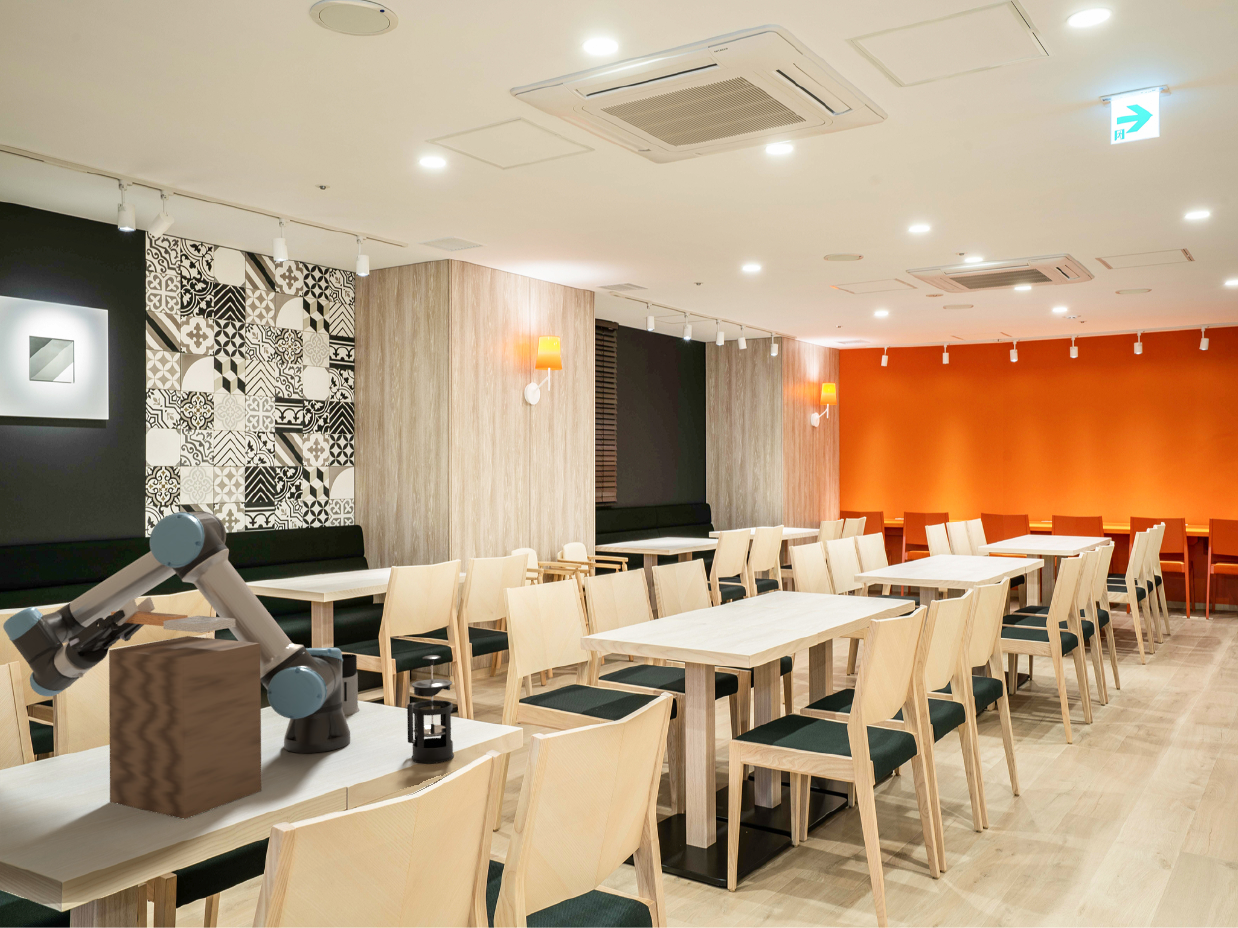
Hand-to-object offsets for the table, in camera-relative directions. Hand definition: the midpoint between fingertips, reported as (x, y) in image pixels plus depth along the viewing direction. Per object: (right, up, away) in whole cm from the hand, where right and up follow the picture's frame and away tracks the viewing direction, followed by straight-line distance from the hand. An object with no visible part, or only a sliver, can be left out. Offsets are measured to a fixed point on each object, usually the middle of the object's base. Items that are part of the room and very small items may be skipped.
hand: (142, 604), depth 198 cm
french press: (+56, -38, +18) cm, 70 cm away
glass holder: (+24, -39, +59) cm, 75 cm away
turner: (+6, -4, -3) cm, 8 cm away
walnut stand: (+12, -38, -7) cm, 40 cm away
